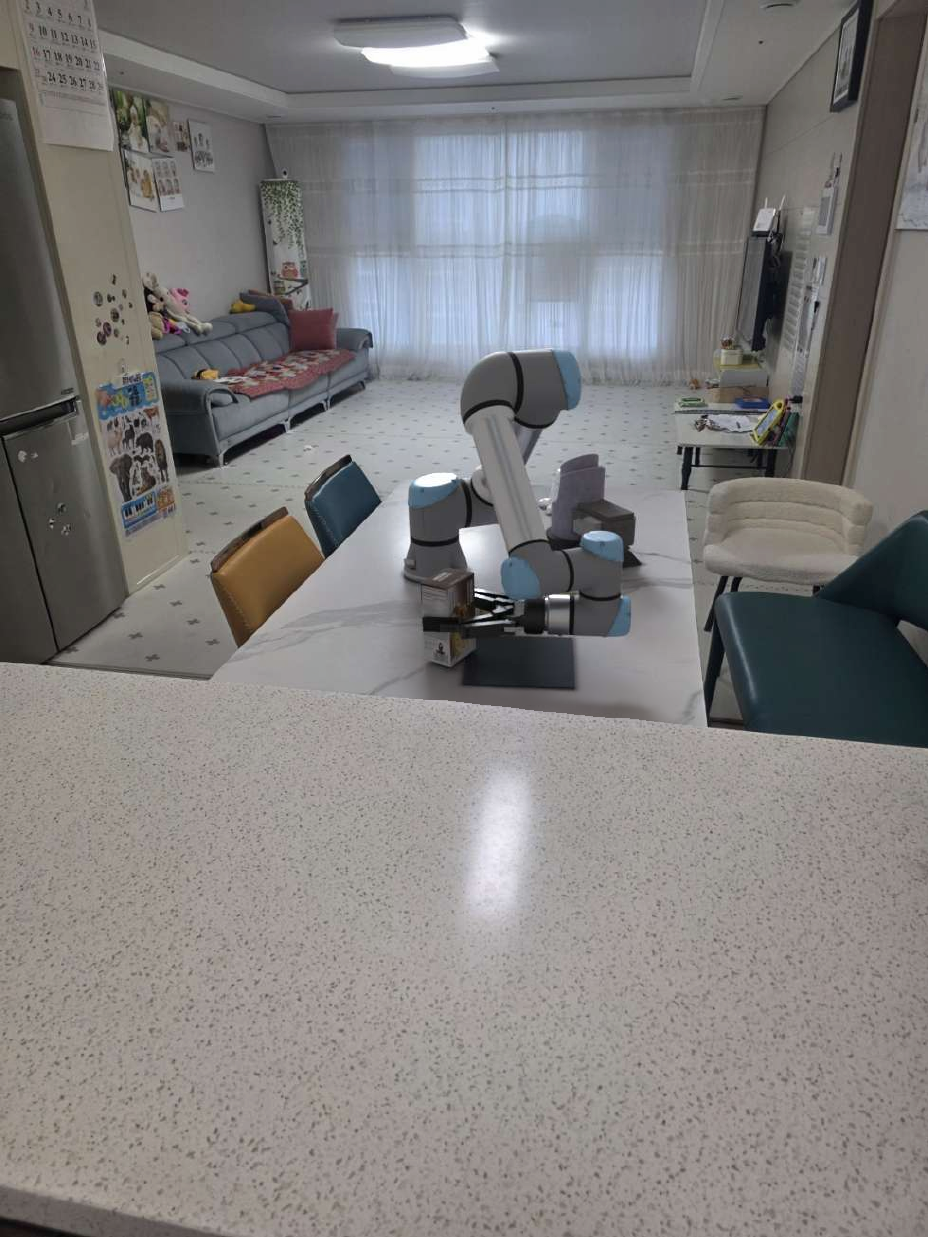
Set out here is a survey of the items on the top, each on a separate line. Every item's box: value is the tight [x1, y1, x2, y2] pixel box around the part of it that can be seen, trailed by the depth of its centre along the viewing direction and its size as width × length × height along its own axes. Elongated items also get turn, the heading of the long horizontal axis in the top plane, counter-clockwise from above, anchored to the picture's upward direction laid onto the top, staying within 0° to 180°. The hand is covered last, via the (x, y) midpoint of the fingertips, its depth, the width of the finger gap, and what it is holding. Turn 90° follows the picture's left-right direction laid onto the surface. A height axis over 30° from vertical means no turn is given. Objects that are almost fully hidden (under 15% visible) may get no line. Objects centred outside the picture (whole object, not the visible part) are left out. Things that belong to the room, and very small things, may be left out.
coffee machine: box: [545, 453, 643, 569], centre depth 206 cm, size 30×16×24 cm, turn 25°
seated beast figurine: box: [539, 468, 560, 515], centre depth 240 cm, size 10×9×12 cm
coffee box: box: [419, 568, 476, 668], centre depth 155 cm, size 9×6×16 cm
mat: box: [462, 635, 575, 690], centre depth 157 cm, size 20×20×1 cm
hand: (427, 611), depth 155 cm, fingers closed on coffee box, 10 cm apart
